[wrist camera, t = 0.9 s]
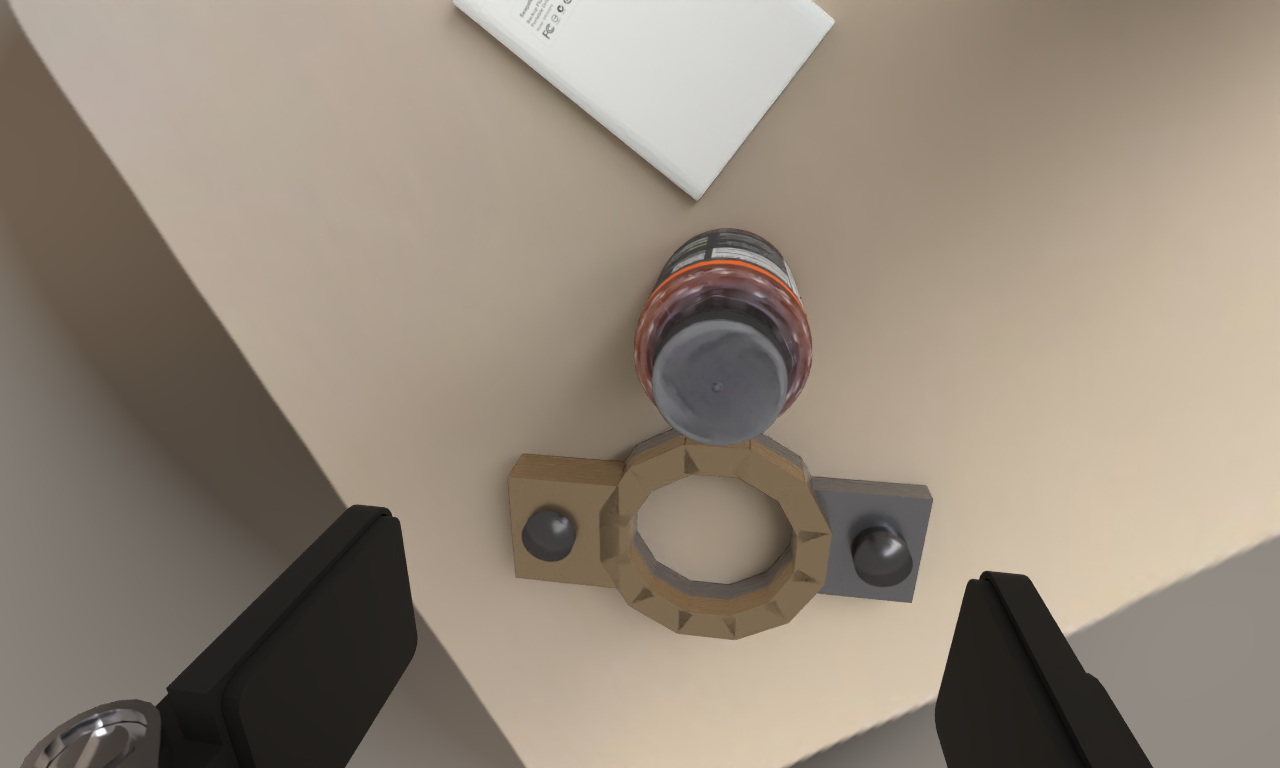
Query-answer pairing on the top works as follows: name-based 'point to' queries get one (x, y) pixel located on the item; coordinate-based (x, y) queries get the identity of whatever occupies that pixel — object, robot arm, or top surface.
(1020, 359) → the top surface
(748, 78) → the external hard drive
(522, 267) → the top surface
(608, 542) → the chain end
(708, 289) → the supplement bottle
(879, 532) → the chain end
